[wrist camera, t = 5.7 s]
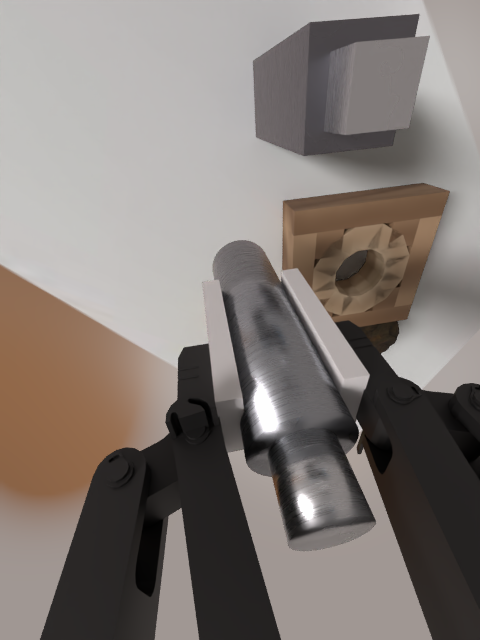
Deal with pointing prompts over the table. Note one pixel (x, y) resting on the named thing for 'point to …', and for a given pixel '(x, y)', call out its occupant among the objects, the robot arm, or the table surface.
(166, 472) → the robot arm
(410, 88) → the square bit
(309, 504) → the round bit
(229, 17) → the table surface
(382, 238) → the bit holder
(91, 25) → the table surface
